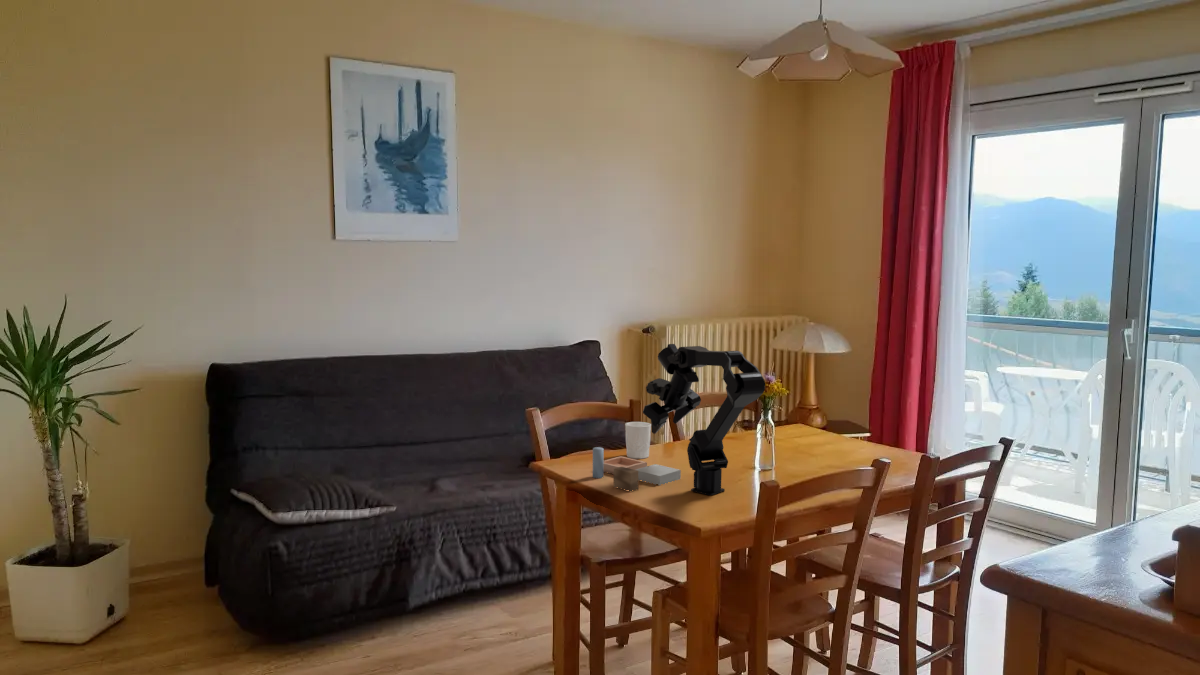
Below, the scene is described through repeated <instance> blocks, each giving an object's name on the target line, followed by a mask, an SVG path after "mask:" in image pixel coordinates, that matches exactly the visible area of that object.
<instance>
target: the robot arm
mask: <svg viewBox="0 0 1200 675" xmlns="http://www.w3.org/2000/svg"><path fill="white" fill-rule="evenodd" d="M657 360H658V361H659V363H660V364H661V366H662V367H663V369H664V370H665V371H666V373H667V374H668V375H672V376H671V378H670V380H666V379H664V378H656V379H653V380H651V381H649V382H648V383H647V385H646V387H645V389H646V390H645V391H646V393H647V394H649V395H652V396H653V395H655V396H658V397H659V398H658V400H660V401H661V402H663V403H664V404H663V405H660V403H658V402H657V401H653V402H651V403H649V404H646V405H644V406H643V410H642V414H644V415H645V416H646V417H647V418H648V419H649V420H650V424H651V433H652V434H654V435H655V434H657V433H658V432H659V431H660V430H661V428H663V426H664V425H665V424H666V423H667V422H668V421H667V420H668V419H669V416H670V415H669V413H670V412H674V415H673V418H672V419H673V420H672V423H674V424H675V425H676V424H677V423H679V422H680V421H681V420H682V419H683V418H685V417H686V416H688V414H690V413H691V412H692V411H693V410H695V409H696V408H697V407H698V406H700V404H701V401H702V399H701V396H700V394H698V393H697V392H695V391H694V390H693V389H692V384H693V383H699V381H700V378H699V376H698V375H697V371H695V370H694V368H703V367H707V366H711V367H712V366H713V367H722V370H723V373H722V377H723V378H722V380H723V381H724V383H725V385H726V387H725V390H726V397H725V398H724V401H723V403H722V404H721V406H720V407H719V409H718V410H717V412H716V413H715V414H714V416H713V418H712V420H710V423H709V424H708V426H707V428H705V429H698V430H695V431H694V432H693V434H692V435H691V437H690V438H689V439H688V440H689V443H688V444H687V448H686V451H687V458H688V463H689V464H688V465H689V468H691V470H692V471H693V488H691V489H690V491H692V492H695V493H698V494H702V495H707V496H713V495H717V494H720V493H722V492H725V491H726V490H725V488H723V487H722V470H723V469H727V468H728V464H729V460H728V459H727V456H726V453H725V452H724V444H723V440H724V438H725V437H726V435H727V434H728V432H729V430H730V429H732V427H733V425H734V424H735V422H736V421H737V419H738V418H739V416H740V415H741V413H742V411H743V410H744V409H745V408H746V406H748V405H749V404H751V403H753V402H756V401H757V399H759V398H760V397H761V396H762V395H763V394H764V392H765V389H766V380H765V378H764V377H763V374H761V372H760V369H758V367H757V366H756V365H754V364H753V363H752V362H751V361H749V360H748V359H747V358H746V357H745V356H744V354H743V352H741V351H739V350H709V349H707V347H704V346H701V345H693V346H691V345H689V346H679V347H677V346H676V344H675V343H668V344H667V346H666V347H664V348H662V349H661V351H660V352H658V354H657ZM731 368H737V369H738V370H739V371H741V372H739V373H734V372H733V371H732V369H731Z"/></svg>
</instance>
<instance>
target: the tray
mask: <svg viewBox="0 0 1200 675" xmlns="http://www.w3.org/2000/svg"><path fill="white" fill-rule="evenodd" d="M647 466H648V462H647V461H643V460H639V459H635V458H629V457H626V456H621V455H620V456H617V457H612V458H608V459H604V470H603V473H606V472H608V473H607V474H610V473H612V474H611V475H614V468H618V467H625V468H629V469H633V470H636V469H639V468H643V467H647Z"/></svg>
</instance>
